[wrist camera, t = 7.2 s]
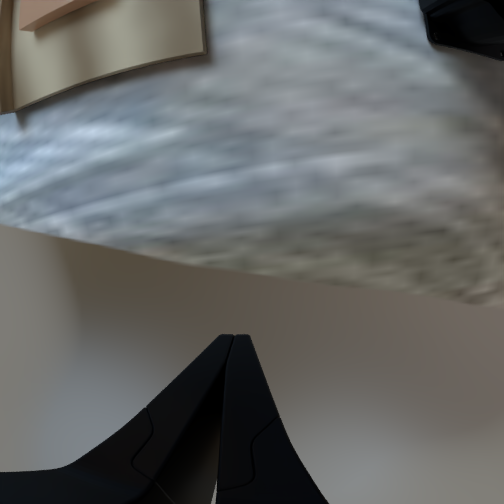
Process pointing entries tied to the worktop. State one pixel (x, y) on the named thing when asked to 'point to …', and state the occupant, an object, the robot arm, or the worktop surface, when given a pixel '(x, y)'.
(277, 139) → the worktop surface
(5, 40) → the board
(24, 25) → the tile
